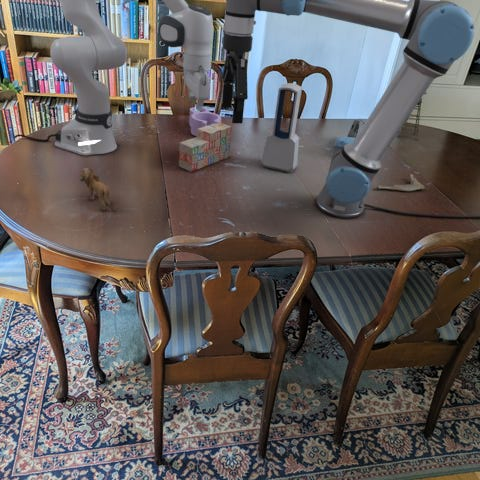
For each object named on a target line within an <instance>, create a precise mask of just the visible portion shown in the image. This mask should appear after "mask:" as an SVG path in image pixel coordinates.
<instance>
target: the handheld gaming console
mask: <svg viewBox="0 0 480 480" xmlns="http://www.w3.org/2000/svg"><path fill="white" fill-rule="evenodd" d="M360 123H361V122H360V120H358V119H354V120H353V122H352V124H351V127H350V129H349V131H348V133H347V135H346V137H353V138H356V137H357V135H358V134H359V129H360Z"/></svg>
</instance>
